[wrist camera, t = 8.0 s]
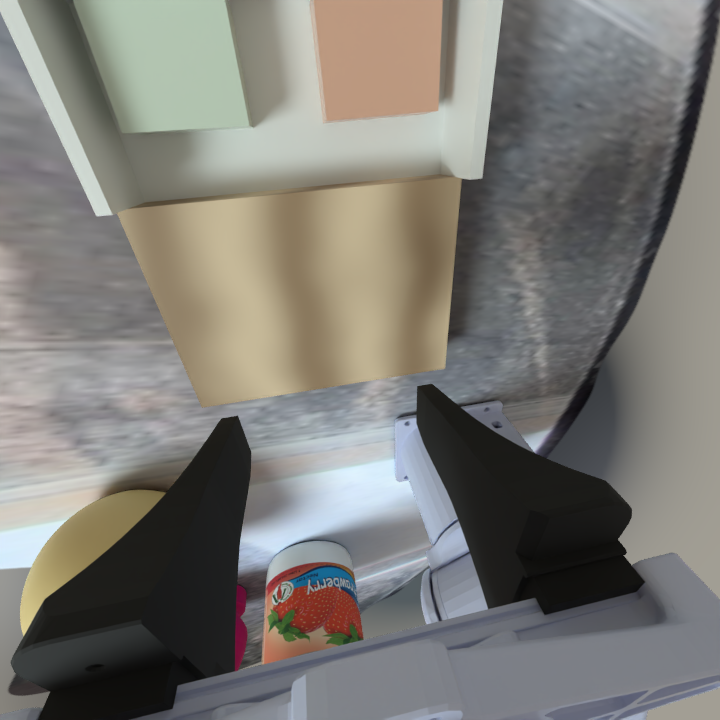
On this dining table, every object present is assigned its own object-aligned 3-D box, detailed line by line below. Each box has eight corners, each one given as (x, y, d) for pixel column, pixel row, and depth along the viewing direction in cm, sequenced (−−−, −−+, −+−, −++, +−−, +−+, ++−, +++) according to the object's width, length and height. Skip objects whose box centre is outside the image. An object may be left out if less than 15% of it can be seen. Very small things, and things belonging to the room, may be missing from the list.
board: (442, 173, 18) (461, 176, 16) (431, 349, 25) (444, 368, 23) (137, 202, 17) (115, 209, 15) (210, 383, 23) (201, 407, 21)
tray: (461, -27, 14) (512, -80, 11) (447, 172, 18) (482, 178, 15) (47, -15, 13) (-40, -74, 9) (135, 202, 17) (96, 216, 13)
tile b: (249, 125, 14) (254, 127, 16) (222, -14, 12) (231, 7, 13) (122, 133, 13) (140, 134, 15) (68, -11, 11) (97, 9, 13)
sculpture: (96, 560, 31) (17, 727, 22) (51, 475, 25) (-84, 659, 16) (226, 548, 34) (202, 693, 25) (214, 467, 27) (177, 623, 18)
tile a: (438, 110, 15) (423, 114, 16) (443, -21, 13) (425, -2, 14) (326, 121, 14) (323, 123, 16) (311, -15, 12) (309, 5, 14)
